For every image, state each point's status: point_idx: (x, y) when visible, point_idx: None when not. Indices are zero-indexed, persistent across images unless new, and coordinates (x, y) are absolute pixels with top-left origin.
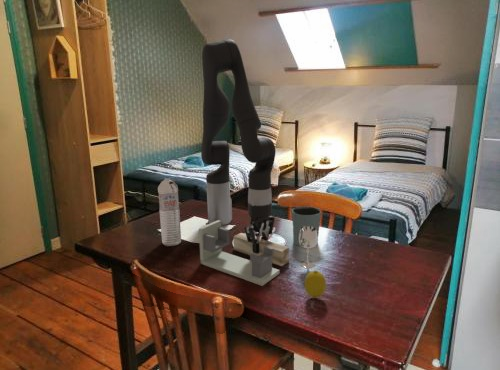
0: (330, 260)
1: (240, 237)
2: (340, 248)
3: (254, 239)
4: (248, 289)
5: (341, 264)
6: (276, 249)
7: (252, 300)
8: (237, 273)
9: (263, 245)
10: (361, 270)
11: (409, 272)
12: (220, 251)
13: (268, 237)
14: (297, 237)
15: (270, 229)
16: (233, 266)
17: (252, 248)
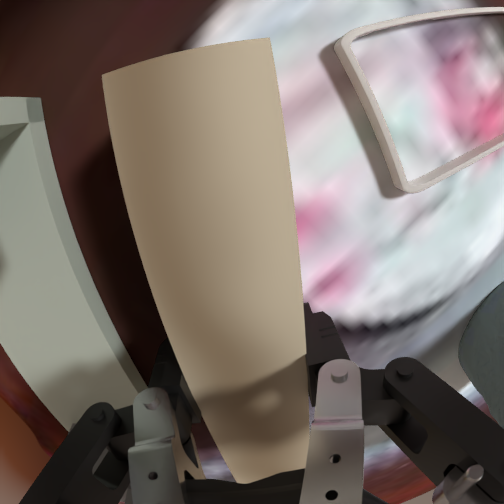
0: (390, 451)
1: (143, 168)
2: (477, 407)
3: (124, 470)
4: (51, 425)
5: (379, 468)
6: (238, 477)
7: (50, 445)
8: (27, 382)
9: (214, 432)
10: (370, 487)
11: (402, 494)
12: (15, 129)
13: (483, 155)
14: (487, 361)
15: (398, 446)
16: (21, 338)
17: (156, 358)
